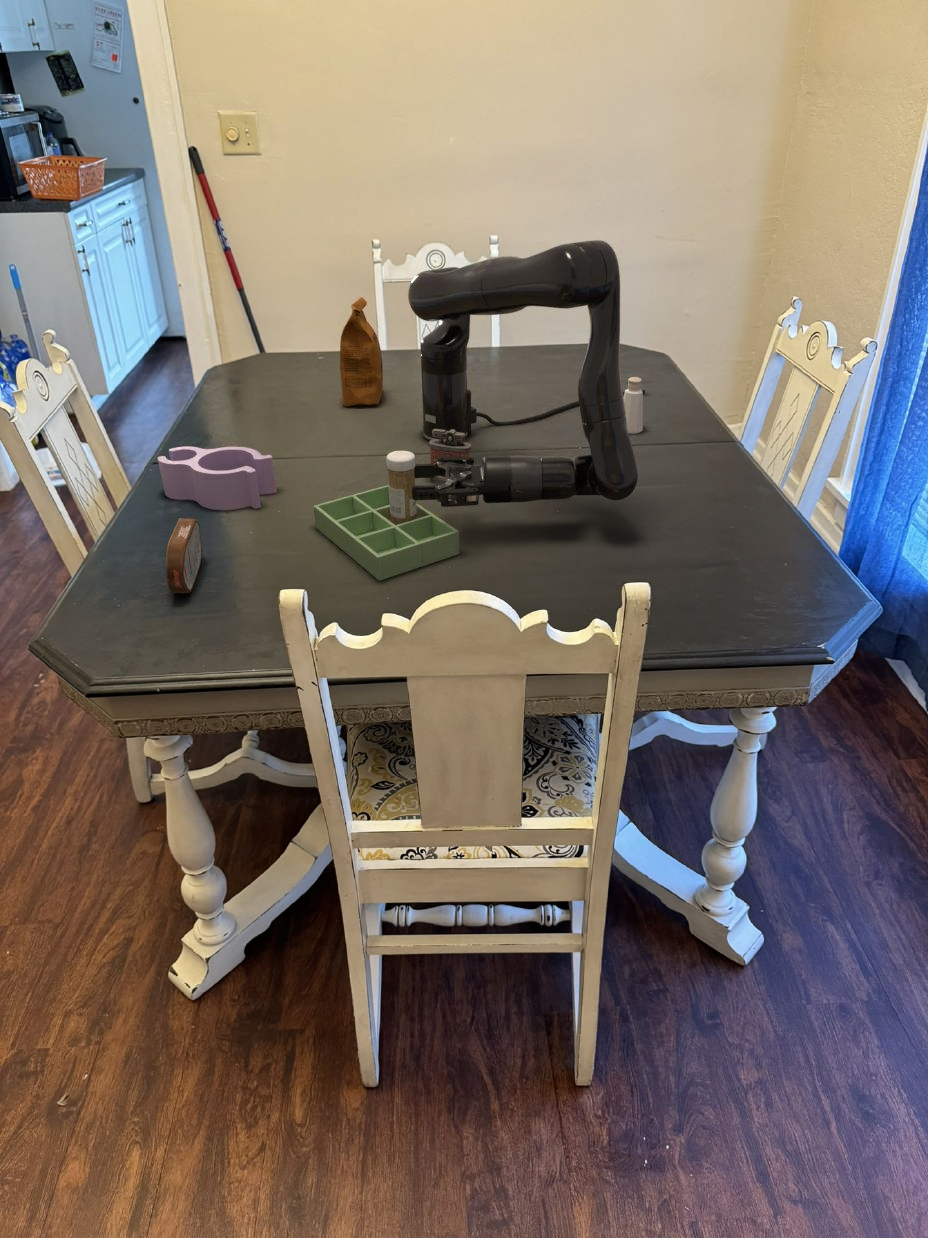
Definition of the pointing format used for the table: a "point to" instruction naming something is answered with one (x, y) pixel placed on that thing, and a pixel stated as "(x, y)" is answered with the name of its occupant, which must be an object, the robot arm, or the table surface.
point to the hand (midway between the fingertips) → (412, 481)
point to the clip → (218, 476)
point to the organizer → (385, 533)
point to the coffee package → (360, 360)
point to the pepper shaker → (634, 405)
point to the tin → (183, 556)
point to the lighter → (447, 447)
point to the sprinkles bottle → (401, 486)
